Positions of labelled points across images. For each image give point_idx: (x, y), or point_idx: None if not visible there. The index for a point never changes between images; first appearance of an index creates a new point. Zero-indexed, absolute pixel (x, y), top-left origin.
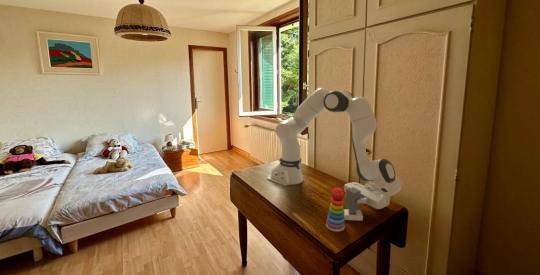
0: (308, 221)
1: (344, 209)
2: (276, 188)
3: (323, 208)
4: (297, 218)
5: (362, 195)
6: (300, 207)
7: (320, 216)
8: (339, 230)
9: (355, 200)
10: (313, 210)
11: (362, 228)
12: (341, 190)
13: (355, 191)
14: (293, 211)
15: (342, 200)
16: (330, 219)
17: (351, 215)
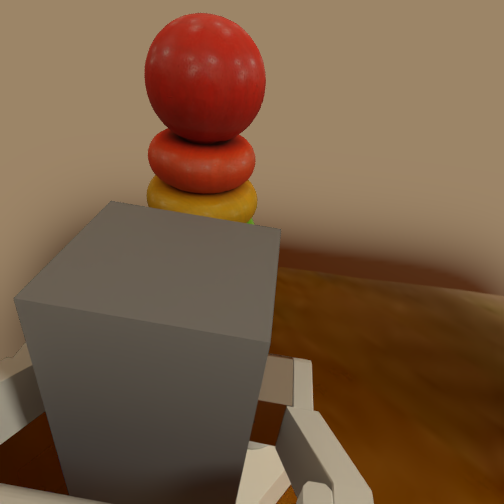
0: (334, 302)
1: (266, 487)
2: None
3: (454, 480)
4: (383, 289)
5: (6, 488)
6: (501, 364)
7: (350, 375)
8: None
9: None
10: (441, 396)
11: (17, 482)
12: (169, 23)
13: (113, 237)
14: (458, 314)
15: (158, 141)
16: None
17: None
